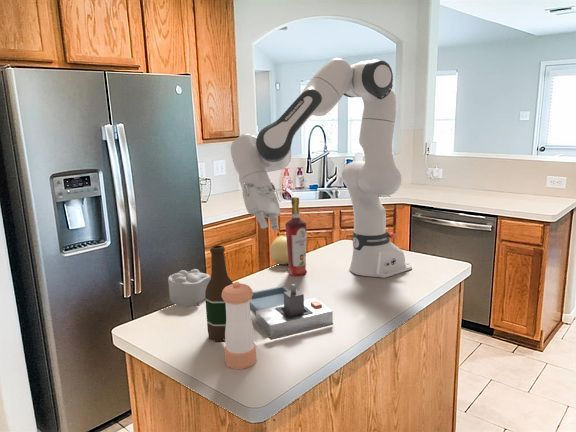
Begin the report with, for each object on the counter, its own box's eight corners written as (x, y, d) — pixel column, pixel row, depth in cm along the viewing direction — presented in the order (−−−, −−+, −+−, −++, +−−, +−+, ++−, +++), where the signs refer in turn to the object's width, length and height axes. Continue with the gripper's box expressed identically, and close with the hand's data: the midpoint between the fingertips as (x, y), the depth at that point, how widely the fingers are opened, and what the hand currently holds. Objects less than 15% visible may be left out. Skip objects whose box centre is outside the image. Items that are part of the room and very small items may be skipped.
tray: (284, 293, 146) (284, 285, 146) (304, 308, 134) (303, 300, 133) (242, 301, 141) (242, 294, 140) (259, 318, 128) (258, 310, 128)
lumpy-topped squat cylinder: (196, 308, 137) (194, 280, 135) (161, 302, 142) (159, 275, 141) (215, 295, 146) (213, 269, 144) (182, 290, 152) (180, 265, 150)
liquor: (300, 270, 167) (298, 194, 161) (311, 276, 161) (310, 197, 155) (283, 274, 163) (280, 197, 157) (294, 280, 157) (292, 200, 151)
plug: (297, 316, 126) (296, 281, 124) (304, 322, 123) (303, 285, 120) (284, 320, 125) (283, 283, 122) (290, 325, 121) (289, 288, 119)
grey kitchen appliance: (315, 311, 132) (314, 295, 131) (332, 324, 123) (332, 308, 122) (256, 324, 125) (255, 308, 124) (270, 340, 116) (270, 322, 115)
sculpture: (306, 259, 180) (306, 233, 177) (290, 268, 170) (289, 240, 167) (282, 256, 186) (281, 230, 183) (265, 264, 176) (264, 237, 174)
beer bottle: (205, 332, 121) (198, 244, 116) (234, 327, 124) (228, 241, 119) (211, 345, 114) (204, 252, 109) (241, 339, 117) (236, 248, 112)
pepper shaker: (248, 371, 102) (243, 289, 98) (219, 365, 104) (213, 286, 100) (261, 355, 108) (258, 278, 104) (234, 350, 111) (229, 275, 107)
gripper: (252, 176, 128) (267, 223, 126) (276, 187, 148) (290, 227, 145) (232, 185, 130) (247, 231, 127) (259, 194, 149) (272, 234, 147)
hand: (270, 229), depth 136 cm, fingers open, 8 cm apart
